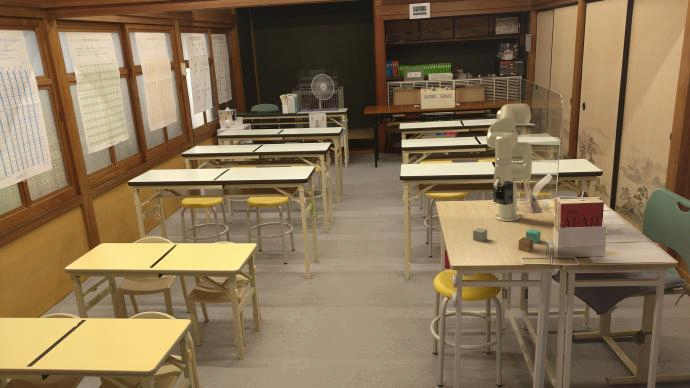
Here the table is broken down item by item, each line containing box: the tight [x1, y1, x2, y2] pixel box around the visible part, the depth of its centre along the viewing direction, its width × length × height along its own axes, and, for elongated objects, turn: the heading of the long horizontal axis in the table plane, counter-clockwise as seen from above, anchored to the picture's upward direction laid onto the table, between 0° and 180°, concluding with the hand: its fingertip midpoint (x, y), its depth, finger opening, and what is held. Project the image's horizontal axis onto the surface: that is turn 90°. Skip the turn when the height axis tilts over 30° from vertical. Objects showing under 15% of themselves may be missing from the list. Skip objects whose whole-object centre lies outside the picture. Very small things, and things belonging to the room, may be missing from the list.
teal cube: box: [525, 228, 541, 244], centre depth 259 cm, size 5×5×5 cm
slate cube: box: [472, 227, 488, 243], centre depth 265 cm, size 5×5×5 cm
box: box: [492, 181, 514, 205], centre depth 255 cm, size 8×6×11 cm
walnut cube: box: [518, 236, 535, 253], centre depth 249 cm, size 5×5×5 cm
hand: (503, 197), depth 256 cm, fingers closed on box, 7 cm apart
